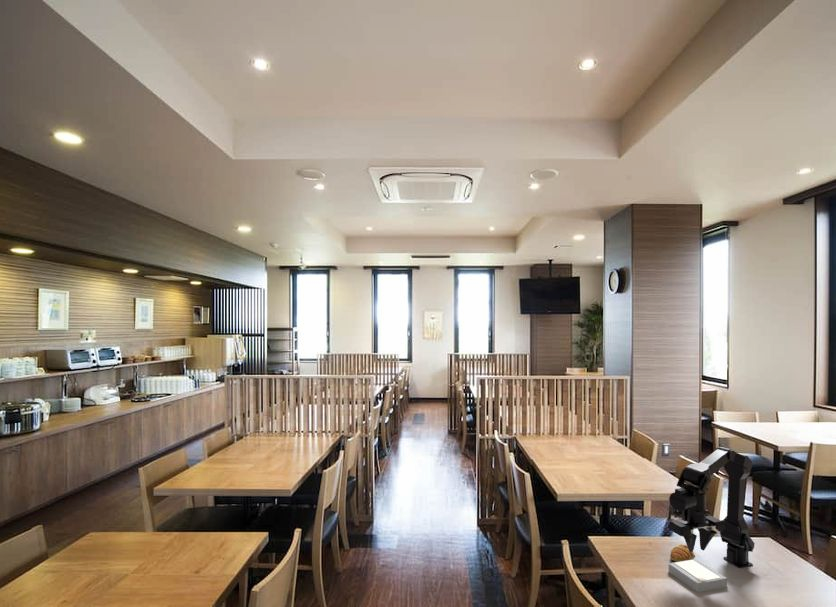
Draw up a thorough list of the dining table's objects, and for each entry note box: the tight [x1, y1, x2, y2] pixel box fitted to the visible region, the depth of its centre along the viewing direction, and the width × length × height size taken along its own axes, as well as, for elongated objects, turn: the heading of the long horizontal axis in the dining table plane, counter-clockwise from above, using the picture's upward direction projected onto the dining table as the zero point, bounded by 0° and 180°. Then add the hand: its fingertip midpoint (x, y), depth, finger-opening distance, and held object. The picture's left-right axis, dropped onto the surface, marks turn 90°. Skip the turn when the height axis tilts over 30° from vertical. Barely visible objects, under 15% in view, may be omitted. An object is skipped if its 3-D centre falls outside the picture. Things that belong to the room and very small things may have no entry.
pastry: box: [669, 544, 696, 562], centre depth 163 cm, size 9×7×4 cm
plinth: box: [668, 558, 728, 593], centre depth 151 cm, size 12×12×3 cm
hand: (696, 550), depth 151 cm, fingers open, 5 cm apart
